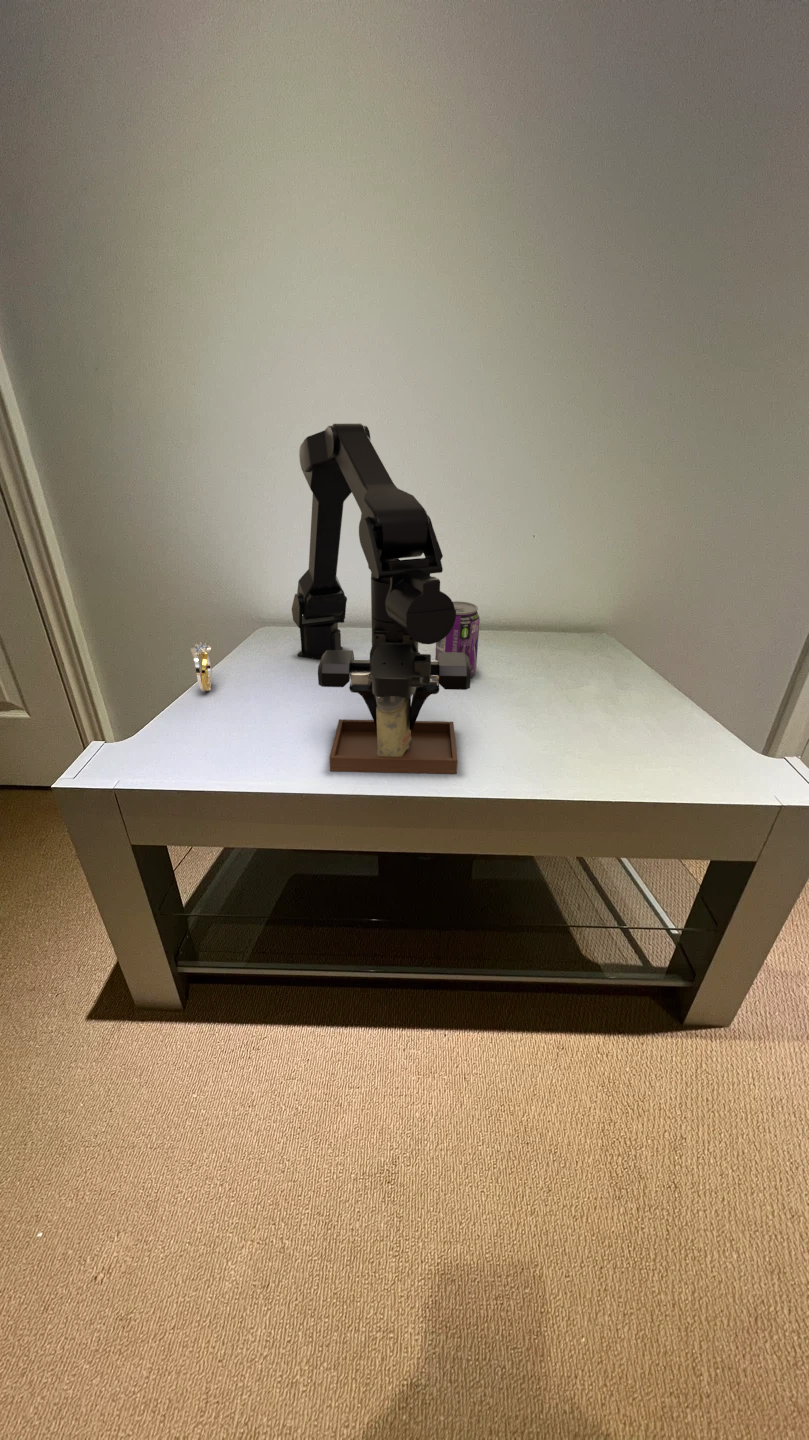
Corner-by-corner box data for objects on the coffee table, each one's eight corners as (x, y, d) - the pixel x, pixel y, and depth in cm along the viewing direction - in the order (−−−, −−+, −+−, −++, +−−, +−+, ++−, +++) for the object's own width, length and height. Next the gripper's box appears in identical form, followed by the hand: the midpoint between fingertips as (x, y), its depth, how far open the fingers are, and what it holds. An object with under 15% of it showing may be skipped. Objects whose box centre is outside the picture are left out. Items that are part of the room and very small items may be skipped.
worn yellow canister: (390, 731, 83) (389, 667, 78) (416, 735, 82) (416, 670, 77) (373, 759, 78) (371, 691, 72) (401, 763, 77) (400, 695, 71)
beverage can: (473, 683, 100) (478, 615, 94) (431, 680, 101) (434, 612, 95) (477, 667, 106) (482, 602, 100) (438, 663, 107) (440, 599, 101)
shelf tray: (330, 771, 76) (329, 757, 75) (339, 732, 85) (338, 719, 84) (456, 774, 76) (457, 760, 75) (452, 734, 85) (453, 721, 84)
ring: (213, 699, 93) (205, 652, 90) (192, 699, 93) (184, 652, 89) (221, 680, 100) (215, 635, 96) (202, 681, 99) (194, 636, 95)
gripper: (306, 637, 64) (315, 759, 72) (478, 641, 64) (469, 762, 71) (321, 605, 74) (327, 715, 81) (471, 608, 74) (463, 718, 81)
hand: (394, 728), depth 79 cm, fingers closed on worn yellow canister, 4 cm apart
